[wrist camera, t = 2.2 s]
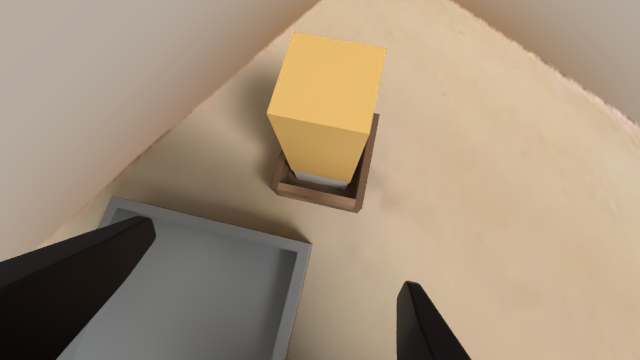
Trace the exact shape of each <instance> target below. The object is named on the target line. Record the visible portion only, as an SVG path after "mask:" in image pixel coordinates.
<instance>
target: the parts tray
mask: <svg viewBox="0 0 640 360" xmlns="http://www.w3.org/2000/svg"><path fill="white" fill-rule="evenodd" d="M138 215H141V216H146V217H149V218H151V219H152V221H153V224H154V228H155V231H156V239H155V241H154V242H153V244H152V245H151V247H150V248H149V249H148V251H147V252H146V253H145V255H144V256H143V257H142V259H141V260H140V262H139V263H138V264H137V266H136V267H135V268H134V270H133V271H132V272H131V274H130V275H129V276H128V278H127V279H126V280H125V281H124V283H123V284H122V285H121V286H120V287H119V288H118V290H117V291H116V292H115V293H114V294H113V295H112V296H111V298H110V299H109V300H108V301H107V302H106V303H105V304H104V306H103V307H102V308H101V309H100V310H99V311H98V312H97V314H96V315H95V316H94V317H93V318H92V319H91V320H90V322H89V323H88V324H87V325H86V326H85V327H84V328H83V330H82V331H81V332H80V333H79V334H78V335H77V336H76V338H75V339H74V340H73V341H72V342H71V343H70V344H69V346H68V347H67V348H66V349H65V350H64V351H63V352H62V354H61V355H60V356H59V357H58V358H57V359H56V360H286V355H287V351H288V347H289V343H290V338H291V334H292V330H293V326H294V321H295V317H296V313H297V308H298V304H299V300H300V296H301V291H302V287H303V283H304V279H305V274H306V270H307V266H308V262H309V257H310V253H311V249H312V245H313V244H309V243H305V242H301V241H296V240H292V239H288V238H284V237H280V236H276V235H272V234H268V233H264V232H260V231H255V230H251V229H247V228H243V227H239V226H235V225H231V224H227V223H223V222H219V221H214V220H210V219H206V218H202V217H198V216H194V215H190V214H186V213H182V212H178V211H173V210H169V209H165V208H161V207H157V206H153V205H149V204H145V203H141V202H136V201H132V200H128V199H123V198H119V197H115V196H113V197H112V199H111V201H110V203H109V205H108V207H107V209H106V211H105V214H104V216H103V218H102V220H101V222H100V224H99V226H98V228H97V229H99V228H102V227H105V226H108V225H111V224H114V223H117V222H120V221H123V220H126V219H129V218H131V217H134V216H138Z"/></svg>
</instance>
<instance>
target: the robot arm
mask: <svg viewBox="0 0 640 360" xmlns="http://www.w3.org/2000/svg"><path fill="white" fill-rule="evenodd" d="M155 239H156V231H155V228H154V224H153V221H152V219H151V218H149V217H146V216H141V215H138V216H134V217H131V218H129V219H126V220H123V221H120V222H117V223H114V224H111V225H108V226H105V227H102V228H99V229H96V230H93V231H90V232H87V233H84V234H82V235H79V236H76V237H73V238H70V239H67V240H64V241H61V242H58V243H55V244H52V245H49V246H46V247H43V248H40V249H37V250H34V251H32V252H29V253H26V254H23V255H20V256H17V257H14V258H11V259H8V260H5V261H2V262H0V360H56V359H57V358H58V357H59V356H60V355H61V354H62V352H63V351H64V350H65V349H66V348H67V347H68V346H69V344H70V343H71V342H72V341H73V340H74V339H75V338H76V336H77V335H78V334H79V333H80V332H81V331H82V330H83V328H84V327H85V326H86V325H87V324H88V323H89V322H90V320H91V319H92V318H93V317H94V316H95V315H96V314H97V312H98V311H99V310H100V309H101V308H102V307H103V306H104V304H105V303H106V302H107V301H108V300H109V299H110V298H111V296H112V295H113V294H114V293H115V292H116V291H117V290H118V288H119V287H120V286H121V285H122V284H123V283H124V281H125V280H126V279H127V278H128V276H129V275H130V274H131V272H132V271H133V270H134V268H135V267H136V266H137V264H138V263H139V262H140V260H141V259H142V257H143V256H144V255H145V253H146V252H147V251H148V249H149V248H150V247H151V245H152V244H153V242H154V241H155ZM397 360H471V358H470V357H469V355H468V354H467V353H466V351H465V350H464V348H463V347H462V345H461V344H460V342H459V341H458V339H457V338H456V336H455V335H454V333H453V332H452V331H451V329H450V328H449V326H448V325H447V323H446V322H445V320H444V319H443V317H442V316H441V314H440V313H439V312H438V310H437V309H436V307H435V306H434V304H433V303H432V301H431V300H430V298H429V297H428V295H427V294H426V292H425V291H424V290H423V288H422V287H421V285H420V284H418V283H416V282H412V281H405V283H404V284H403V286H402V288H401V290H400V292H399V294H398V297H397Z"/></svg>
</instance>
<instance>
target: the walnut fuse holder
mask: <svg viewBox="0 0 640 360" xmlns="http://www.w3.org/2000/svg"><path fill="white" fill-rule="evenodd" d="M379 115H380V114H375V113H374V114H373V119H372V124H371V129H370V134H369V137H368V139H367V142H366V144H365V147H364V149H363V152H362V157H361V162H360V167H359V172H358V177H357V182H356V187H355V192H354V197H353V199H351V198H347V197H343V196H338V195H334V194H329V193H325V192H320V191H316V190H311V189H307V188H302V187H298V186H294V185H289V184H287V181H288V178H289V174H290V171H291V168H290V165H289V163H288V161H287V159H286V156H285V154H284V152H283V150H281V153H280V156H279V160H278V163H277V166H276V170H275V173H274V176H273V180H272V183H271V186H270V188H271V189H272V190H273V191H274V192H275V193H276V194H277V195H280V196H284V197H288V198H293V199H297V200H302V201H306V202H310V203H315V204H319V205H323V206H328V207H332V208H336V209H341V210H345V211H349V212H354V213H358V212H359V211H360V210H361V209H362V205H363V199H364V194H365V189H366V183H367V178H368V173H369V168H370V162H371V157H372V152H373V146H374V141H375V136H376V131H377V125H378V120H379Z"/></svg>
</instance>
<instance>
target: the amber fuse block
mask: <svg viewBox="0 0 640 360" xmlns="http://www.w3.org/2000/svg"><path fill="white" fill-rule="evenodd" d="M385 53H386V48H383V47H377V46H371V45H365V44H360V43H354V42H348V41H342V40H336V39H331V38H325V37H319V36H313V35H307V34H301V33H296V32H293V34H292V37H291V40H290V44H289V47H288V50H287V53H286V56H285V59H284V62H283V65H282V68H281V71H280V74H279V77H278V80H277V83H276V86H275V89H274V92H273V95H272V98H271V101H270V104H269V107H268V110H267V116H268V118H269V120H270V122H271V125H272V127H273V129H274V131H275V134H276V136H277V138H278V140H279V143H280V145H281V147H282V150H283V152H284V154H285V156H286V159H287V161H288V163H289V165H290V168H291V170H292V171H294V173H295V175H296V177H297V179H299V180H304V181H308V182H313V183H317V184H322V185H326V186H331V187H335V188H340V189H344V190H346V188H347V185H348V183H350V181H351V179H352V176H353V174H354V171H355V169H356V166H357V164H358V162H359V159H360V157H361V154H362V152H363V149H364V147H365V144H366V142H367V139H368V137H369V134H370V129H371V124H372V119H373V114H374V109H375V104H376V99H377V94H378V88H379V83H380V78H381V73H382V68H383V63H384V58H385Z"/></svg>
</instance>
